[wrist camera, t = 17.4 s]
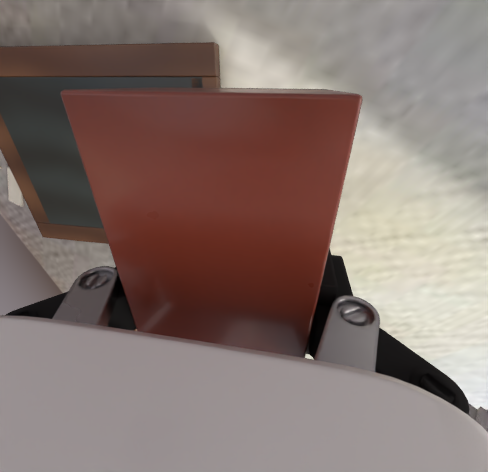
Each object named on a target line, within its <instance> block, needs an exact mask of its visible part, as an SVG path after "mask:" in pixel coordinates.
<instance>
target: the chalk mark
mask: <svg viewBox="0 0 488 472" xmlns="http://www.w3.org/2000/svg"><path fill="white" fill-rule="evenodd" d="M7 175H8V193H9V201H11V202H13V203H15V204H17V205H19V206H21V207H22V206H23V195H22V192H21V190H20V188H19V186H18V184H17V182H16V180H15V178H14V176H13V174H12V172H11V170H10V168H9V167H7Z"/></svg>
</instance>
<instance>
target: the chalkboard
mask: <svg viewBox="0 0 488 472" xmlns="http://www.w3.org/2000/svg"><path fill="white" fill-rule="evenodd" d="M161 87H185V88H220V65H219V45H218V44H216V43H214V42H211V43H162V44H113V45H64V46H15V47H0V149H1V151H2V153H3V155H4V157H5V159H6V161H7V164H8V166H9V168H10V170H11V172H12V174H13V176H14V178H15V180H16V182H17V184H18V186H19V188H20V190H21V192H22V195H23V197H24V199H25V201H26V203H27V205H28V207H29V209H30V211H31V213H32V215H33V217H34V219H35V221H36V224H37V226H38V228H39V230H40V232H41V234H42V236H43V237H47V238H57V239H67V240H77V241H87V242H97V243H107V244H109V243H108V240H107V237H106V234H105V231H104V228H103V224H102V221H101V218H100V215H99V212H98V209H97V206H96V203H95V200H94V197H93V193H92V190H91V187H90V184H89V181H88V178H87V175H86V172H85V169H84V166H83V163H82V159H81V156H80V153H79V150H78V147H77V144H76V141H75V138H74V135H73V132H72V129H71V125H70V122H69V119H68V116H67V113H66V110H65V107H64V104H63V101H62V98H61V91H63V90H71V89H116V88H161Z"/></svg>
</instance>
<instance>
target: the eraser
mask: <svg viewBox="0 0 488 472" xmlns="http://www.w3.org/2000/svg"><path fill="white" fill-rule="evenodd" d="M61 98H62V101H63V104H64V107H65V110H66V113H67V116H68V119H69V122H70V125H71V129H72V132H73V135H74V138H75V141H76V144H77V147H78V150H79V153H80V156H81V159H82V163H83V166H84V169H85V172H86V175H87V178H88V181H89V184H90V187H91V190H92V193H93V197H94V200H95V203H96V206H97V209H98V212H99V215H100V218H101V221H102V224H103V228H104V231H105V234H106V237H107V240H108V243H109V246H110V249H111V252H112V255H113V258H114V262H115V265H116V268H117V271H118V274H119V277H120V280H121V283H122V286H123V289H124V292H125V296H126V299H127V302H128V305H129V308H130V311H131V314H132V317H133V320H134V323H135V327H136V330H137V331H138V332H145V333H151V334H158V335H164V336H171V337H177V338H183V339H190V340H196V341H202V342H209V343H215V344H221V345H228V346H234V347H240V348H246V349H252V350H258V351H265V352H271V353H277V354H283V355H289V356H295V357H301V358H305V354H306V350H307V345H308V341H309V336H310V332H311V327H312V323H313V318H314V314H315V310H316V305H317V301H318V296H319V292H320V287H321V283H322V278H323V274H324V269H325V265H326V260H327V256H328V252H329V247H330V243H331V238H332V234H333V229H334V225H335V220H336V216H337V211H338V207H339V202H340V198H341V194H342V189H343V185H344V180H345V176H346V171H347V167H348V162H349V158H350V153H351V149H352V144H353V140H354V136H355V131H356V127H357V122H358V118H359V113H360V109H361V104H362V96H361V95H359V94H353V93H347V92H340V91H333V90H326V89H260V88H185V87H161V88H116V89H71V90H63V91H61Z"/></svg>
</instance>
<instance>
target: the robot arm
mask: <svg viewBox="0 0 488 472" xmlns="http://www.w3.org/2000/svg"><path fill="white" fill-rule="evenodd" d="M379 325H380V317H379V314H378V312H377V310H376V309H375V308H374V307H373V306H372V305H371V304H370V303H368V302H367V301H365V300H363V299H361V298H358V297H354V296H353V294H352V290H351V287H350V283H349V280H348V276H347V273H346V269H345V266H344V262H343V259H342V257H341V256H335V255H331V252H330V248H329V252H328V256H327V260H326V265H325V269H324V274H323V278H322V283H321V287H320V292H319V296H318V301H317V305H316V310H315V314H314V318H313V323H312V327H311V332H310V336H309V341H308V345H307V350H306V354H310V355H311V356H312V357H313V358H314V360H312V359H307V358H301V357H295V356H289V355H283V354H277V353H271V352H265V351H258V350H252V349H246V348H240V347H234V346H228V345H221V344H215V343H209V342H202V341H196V340H190V339H183V338H177V337H171V336H164V335H158V334H151V333H145V332H138V331H136V327H135V323H134V320H133V317H132V314H131V311H130V308H129V305H128V302H127V299H126V296H125V292H124V289H123V286H122V283H121V280H120V277H119V274H118V271H117V268H116V267H115V268H113V267H109V266H102V267H96V268H93V269H90V270H88V271H86V272H84V273H82V274H81V275H80V276H78V278H77V279H76V280H75V282H74V283H73V285H72V287H71V288H70V290H69V291H68V292H66V293H63V294H60V295H57V296H54V297H51V298H48V299H46V300H43V301H40V302H37V303H34V304H31V305H29V306H25V307H23V308H20V309H17V310H15V311H12V312H10V313H8V314H6V315H2V316H0V472H488V411H486V410H485V409H484V408H482V407H480V408H479V409H478V410H477V409H476V408H474V407H473V406H471V405H470V404H469V403H468V400H467V398H466V397H465V395H464V393H463V391H462V390H461V389H460V388H459V387H458V385H457V384H456V383H455V382H454V381H453V380H451V379H450V378H449V377H448V376H447V375H445V374H444V373H442V372H441V371H440V370H438V369H437V368H435V367H434V366H433V365H431V364H430V363H428V362H427V361H426V360H424V359H423V358H421V357H420V356H419V355H417V354H416V353H414V352H413V351H412V350H410V349H409V348H407V347H406V346H405V345H403V344H402V343H400V342H399V341H398V340H396V339H395V338H393V337H392V336H391V335H389V334H388V333H386V332H385V331H384V330H382V329H381V328H379Z"/></svg>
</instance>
